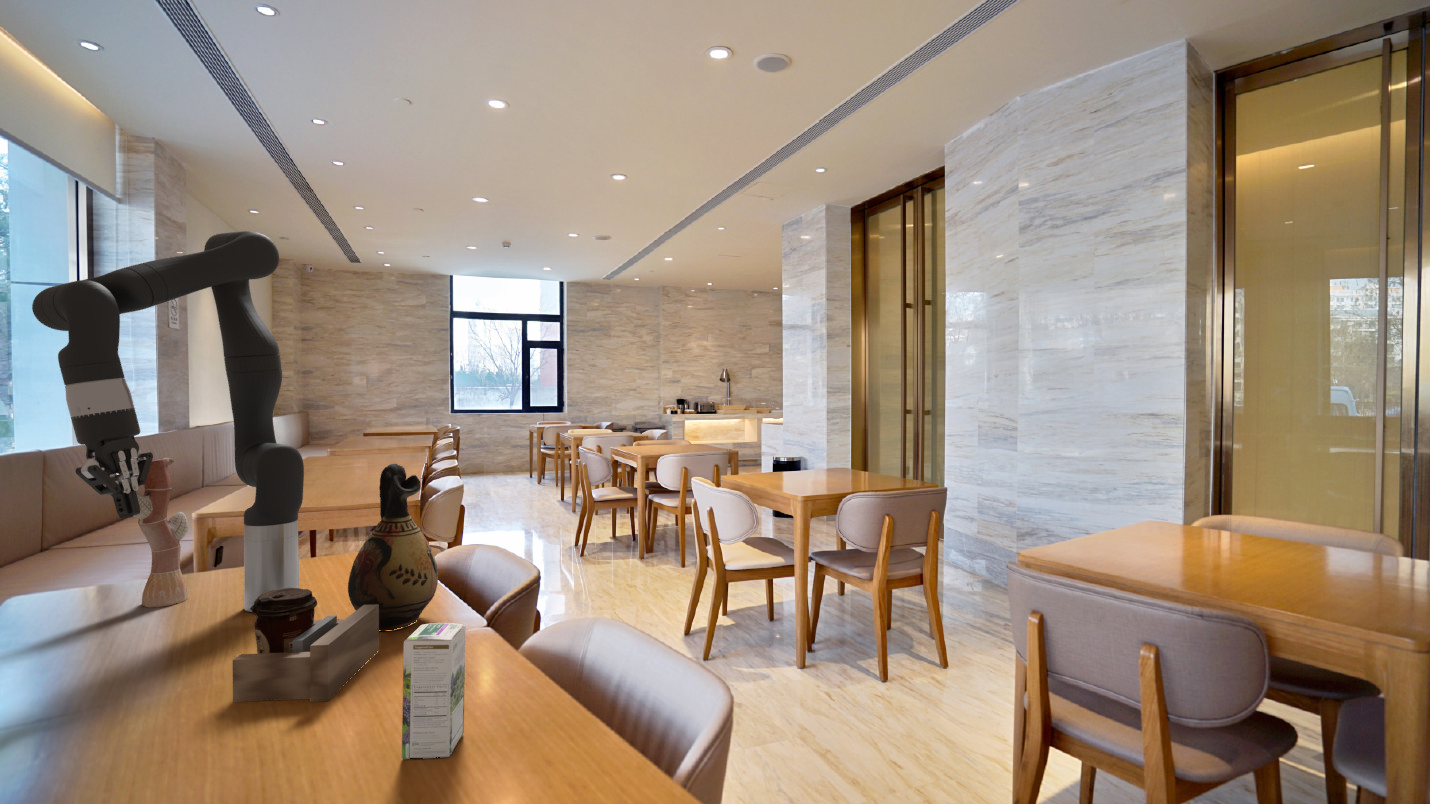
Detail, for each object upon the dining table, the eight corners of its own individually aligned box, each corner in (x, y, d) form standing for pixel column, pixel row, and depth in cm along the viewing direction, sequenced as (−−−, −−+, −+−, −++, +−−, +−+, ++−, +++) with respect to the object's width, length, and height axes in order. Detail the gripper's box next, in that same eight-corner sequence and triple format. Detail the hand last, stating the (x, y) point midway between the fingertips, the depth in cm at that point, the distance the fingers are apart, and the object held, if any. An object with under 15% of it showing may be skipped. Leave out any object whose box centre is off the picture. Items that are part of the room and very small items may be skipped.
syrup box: (418, 735, 84) (418, 622, 84) (466, 734, 85) (465, 621, 85) (401, 760, 79) (400, 639, 78) (452, 758, 79) (451, 638, 79)
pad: (292, 688, 96) (292, 640, 96) (327, 658, 107) (327, 615, 107) (302, 687, 97) (302, 640, 97) (336, 658, 107) (336, 615, 107)
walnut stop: (228, 705, 92) (228, 648, 92) (296, 654, 110) (295, 606, 110) (328, 701, 94) (327, 644, 93) (378, 651, 111) (378, 604, 111)
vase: (185, 593, 143) (184, 455, 142) (196, 600, 138) (195, 457, 138) (121, 606, 134) (119, 459, 134) (130, 613, 130) (128, 461, 130)
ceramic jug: (452, 622, 126) (452, 465, 125) (366, 644, 115) (365, 472, 114) (415, 602, 138) (414, 459, 137) (333, 621, 126) (332, 464, 126)
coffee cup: (246, 694, 96) (245, 604, 95) (254, 672, 103) (253, 589, 103) (316, 681, 100) (315, 596, 100) (319, 662, 107) (318, 582, 107)
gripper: (93, 411, 98) (123, 523, 100) (158, 402, 111) (183, 502, 113) (39, 419, 97) (69, 532, 99) (110, 409, 110) (136, 509, 112)
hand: (130, 516), depth 106 cm, fingers closed
